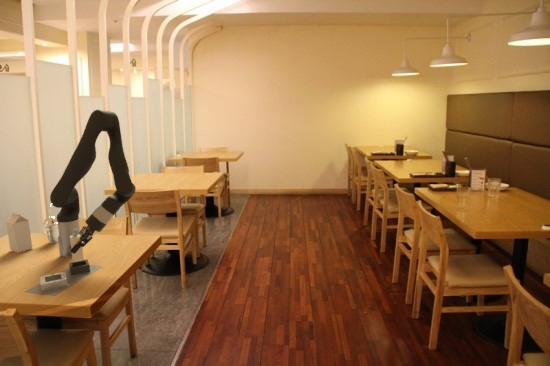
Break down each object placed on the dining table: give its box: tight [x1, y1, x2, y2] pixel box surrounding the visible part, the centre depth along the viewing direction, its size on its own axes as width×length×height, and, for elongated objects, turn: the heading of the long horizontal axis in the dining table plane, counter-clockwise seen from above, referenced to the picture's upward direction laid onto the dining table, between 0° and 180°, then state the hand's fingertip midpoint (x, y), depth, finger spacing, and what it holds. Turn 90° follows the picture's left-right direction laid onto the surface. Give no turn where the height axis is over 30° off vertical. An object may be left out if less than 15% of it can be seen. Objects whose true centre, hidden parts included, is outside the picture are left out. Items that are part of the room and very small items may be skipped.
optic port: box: [39, 271, 69, 292], centre depth 165 cm, size 9×9×3 cm
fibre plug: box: [70, 229, 85, 262], centre depth 177 cm, size 4×4×13 cm
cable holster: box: [68, 259, 90, 275], centre depth 179 cm, size 7×7×3 cm
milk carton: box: [5, 212, 33, 254], centre depth 209 cm, size 7×7×19 cm
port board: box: [24, 264, 104, 296], centre depth 172 cm, size 14×28×2 cm, turn 165°
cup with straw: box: [42, 202, 59, 244], centre depth 220 cm, size 8×9×20 cm
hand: (71, 250), depth 177 cm, fingers closed on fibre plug, 4 cm apart
